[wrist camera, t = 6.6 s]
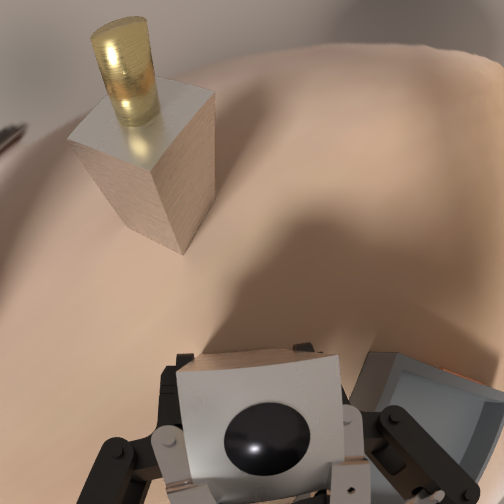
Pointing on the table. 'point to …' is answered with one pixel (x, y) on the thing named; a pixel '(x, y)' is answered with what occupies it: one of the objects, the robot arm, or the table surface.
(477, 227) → the table surface
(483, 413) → the tray
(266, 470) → the block
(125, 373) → the table surface
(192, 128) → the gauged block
